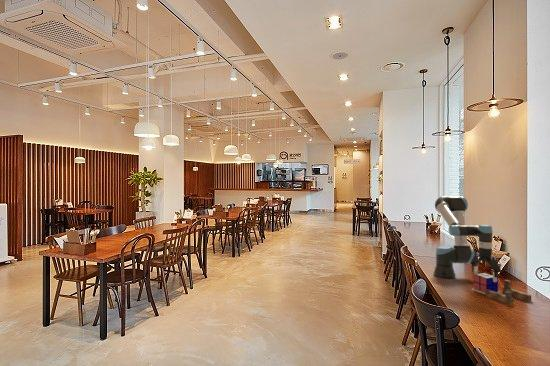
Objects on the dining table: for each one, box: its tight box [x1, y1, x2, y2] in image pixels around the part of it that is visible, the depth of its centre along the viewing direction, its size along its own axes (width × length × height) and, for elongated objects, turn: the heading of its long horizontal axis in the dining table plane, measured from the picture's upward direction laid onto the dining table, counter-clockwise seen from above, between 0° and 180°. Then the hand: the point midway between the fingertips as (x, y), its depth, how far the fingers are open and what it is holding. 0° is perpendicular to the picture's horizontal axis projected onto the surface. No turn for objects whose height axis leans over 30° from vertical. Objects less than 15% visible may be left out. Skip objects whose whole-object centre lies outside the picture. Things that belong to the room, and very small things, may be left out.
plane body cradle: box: [484, 279, 532, 306], centre depth 195 cm, size 16×18×9 cm
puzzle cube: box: [473, 272, 499, 292], centre depth 208 cm, size 10×10×10 cm
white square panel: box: [471, 287, 501, 295], centre depth 208 cm, size 11×11×1 cm
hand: (485, 278), depth 209 cm, fingers open, 13 cm apart
